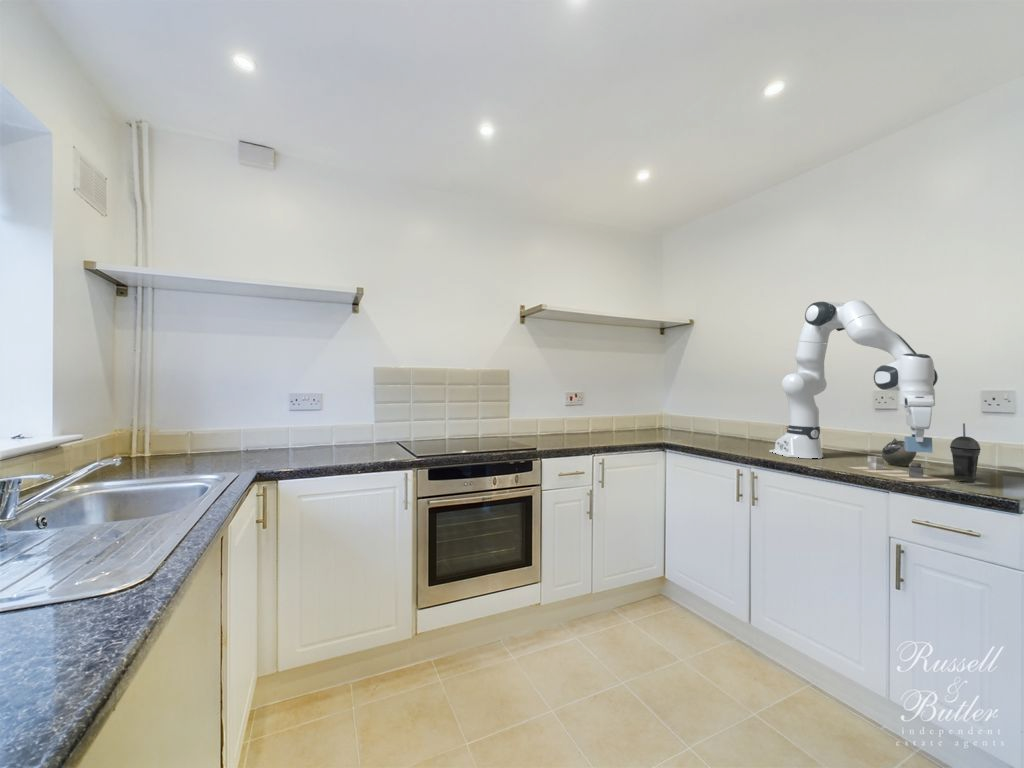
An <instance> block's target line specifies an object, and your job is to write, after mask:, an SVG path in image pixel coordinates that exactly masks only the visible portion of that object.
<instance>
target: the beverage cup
mask: <svg viewBox="0 0 1024 768" xmlns="http://www.w3.org/2000/svg"><path fill="white" fill-rule="evenodd" d="M962 435H963V436H957V437H956V438H953V440H952V441H951V442H950V446H949V448H950V452H951V457H952V467H953V473H954V477H955V478H959V479H965V480H958V481H959V483H964V482H965V483H966V484H975V483H976V480H975V479H976V477H977V471H978V470H977V468H978V462H979V456H980V454H981V450H982V449H981V446H980V443H979V442H978V441H977V440H976V439H974V438H972V437H971V436H966V423H962ZM966 479H968V480H966Z"/></svg>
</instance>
